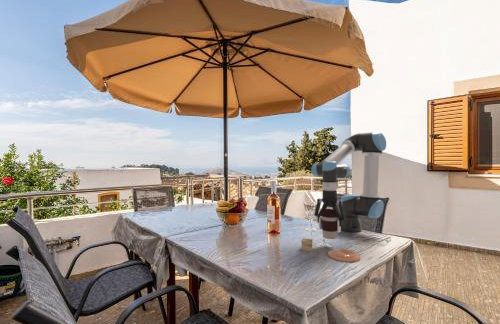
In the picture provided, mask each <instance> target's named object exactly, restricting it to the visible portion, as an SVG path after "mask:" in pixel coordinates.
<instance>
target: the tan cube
mask: <svg viewBox="0 0 500 324" xmlns="http://www.w3.org/2000/svg"><path fill="white" fill-rule="evenodd" d="M300 245H301V251H308V252H312V249H313V238H308V237H307V238H304V237H303V238H302V239H301V244H300Z"/></svg>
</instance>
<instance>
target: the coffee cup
mask: <svg viewBox="0 0 500 324" xmlns="http://www.w3.org/2000/svg"><path fill="white" fill-rule="evenodd" d="M319 212H320V211H319ZM320 215H321V217H322V219H321V223H322V229H321V230H322V237H323V238H324V239H327V240H335V239H337V238H338V233H337V220H339V219H338V217H337V214H336V213H335V211H334V209H333V208H325V209H324V210H323V212H320Z"/></svg>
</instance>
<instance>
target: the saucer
mask: <svg viewBox="0 0 500 324" xmlns="http://www.w3.org/2000/svg"><path fill="white" fill-rule="evenodd" d="M327 252H328V253H327V255H328V258H330V259H332V260H334V261H338V262H344V263H354V262H359V261H360V260H361V257H362V256H361V254H360V253H358V252H356V251H354V250H350V249H349V250H348V249H343V248H336V249H330V250H328V251H327Z"/></svg>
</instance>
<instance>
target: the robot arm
mask: <svg viewBox="0 0 500 324" xmlns="http://www.w3.org/2000/svg"><path fill="white" fill-rule="evenodd" d="M386 148H387V141H386V137H385V135H384V134H383V133H382V132H373V131H372V132H364V133H360V132H359V133H356V134H353V135H351V136H350V137H348V138H346V139H345V140H344V141H342V142H341V145H340V146H338V148H336V149H335V150H334V151H333V152H331V154H329V155H328V156H327V157H326V158H324V159H323V160H322V161H321V162H319V163H314V164H313V165H311V168H310V169H311V170H310V172H311V174H312V175H313V176H314V177H322V198H317V199H316V207H315V210H314V216H315V217H317V223H318V229H319V230H322V223H321V219H322V216H321V215H320V212H323V210H324V209H327V208H331V209H334V211H335V213H336V214H337V217H338V220H337V234H338V233H341V232H342V231H344V232H350V233H359V232H361V231H362V223H361V221H360V217H366V218H370V219H378V218H379V217H381V216H382V213H383V212H384V206H385V205H384V202H383V200H382V199H381V196H380V195H379V194H378V190H379V168H380V167H379V166H380V156H381V155H383V151H385V150H386ZM355 152H361V153H362V155H363V156H364V161H363V178H362V179H363V182H362V193H361V194H349V195H347V194H346V195H342V196H341V197H340V200H339V199H338V191H337V190H338V179H341V178H342V179H345V178H347V177H349V176H350V174H351V168H350V166H349V165H348V164H346V163H345V164H344V163H341V162H342V161H343V160H344V159H345V158H347V157H348V156H350V155H351V154H354V153H355ZM340 163H341V164H340ZM322 203H323V204H322ZM321 204H322V206H321ZM338 207H339V208H338Z"/></svg>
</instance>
